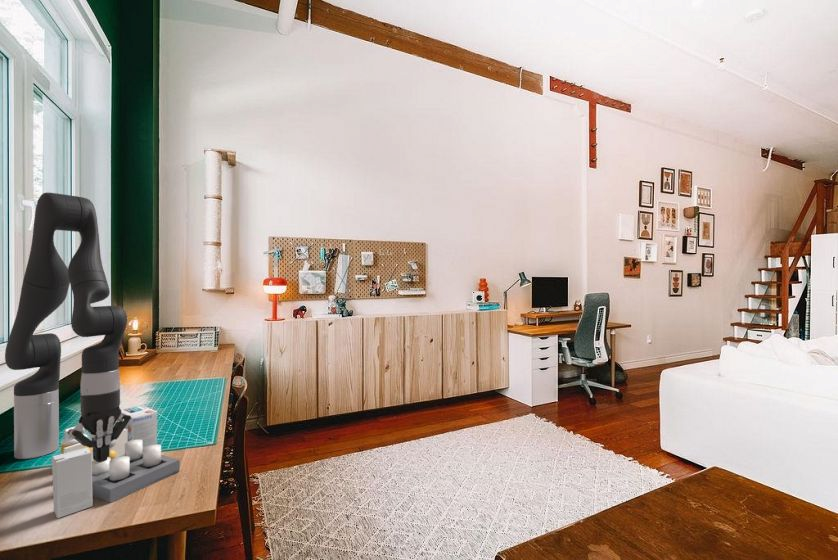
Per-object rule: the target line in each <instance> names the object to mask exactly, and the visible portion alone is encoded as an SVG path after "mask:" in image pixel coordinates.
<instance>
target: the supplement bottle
mask: <svg viewBox="0 0 838 560" xmlns="http://www.w3.org/2000/svg"><path fill="white" fill-rule="evenodd" d="M75 427H76V426H73V427H68V428H66V429H64V436H65V437H64V438H63V439H61V441H60V454H64V448H66V447H69V446H72V445H75V444H78V443H79V442H78V441H77V440H75V439H74V438H73V437H71V436H70V435H69V434H68V431H69V430H70V429H74V428H75ZM83 430H84V432H85V431H86V429H85V428H83ZM83 435H85V436H86V437H87V438H88V435H87V434H85V433H83ZM88 439H89V438H88Z"/></svg>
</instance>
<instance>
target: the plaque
mask: <svg viewBox="0 0 838 560" xmlns="http://www.w3.org/2000/svg"><path fill="white" fill-rule="evenodd" d="M126 442H128V433H127V429H124V430H123V431H122V433H121V434H120V436H119V437H118V438H117V439H116V440H113V441H111V442H110V444H109V458H111V459H114V458H117V457H119V456H122V455H125V443H126ZM83 448H88V449H89V451H90V452H91V461H93V460H94V459H93V447H92V448H89V447H87V446H83V445H82V444H81V443H78V444H75V445H72V446H69V447H66V448H64V453H68V452H72V451H75V450H79V449H83Z"/></svg>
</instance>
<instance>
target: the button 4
mask: <svg viewBox="0 0 838 560" xmlns="http://www.w3.org/2000/svg"><path fill="white" fill-rule="evenodd" d="M161 455H162V445H161V444H157V445H150V446H147V447H145V448H143V466H145V467H150V466H155V465H157V464H159V463H161Z"/></svg>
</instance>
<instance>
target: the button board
mask: <svg viewBox="0 0 838 560" xmlns="http://www.w3.org/2000/svg"><path fill="white" fill-rule="evenodd" d="M122 456H125V455H122ZM122 456H119V457H122ZM111 460H112V459H111ZM180 463H181V460H180V459H178V458H174V457H171V456H168V455H163V454H161V463H159V464H157V465H155V466H150V467H145V466H143V456H142V457H141V458H139V459H137V460H133V461H130V475H129V476H128V477H126V478H124V479H121V480H115V481H112V480H110V479H109V472H106V473H104V474H101V475H99V476H96V477H95V476H92V497H94V498H95V499H99V500H102V501H104V502H106V503H109V504H112V503H114V502H116V501H118V500H120V499H123V498H124V497H125V498H126V497H127V496H129V495H131V494H133V493H137V492H138V491H141V490H142V489H143V490H144V489H145V488H146V487H149V486H151V485H153V484H155V483H158V482H160V481H162V480H164V479H167V478H168V477H169V478H170V477H172V476H174V475H175V474H178V473H180V470H181V469H180Z"/></svg>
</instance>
